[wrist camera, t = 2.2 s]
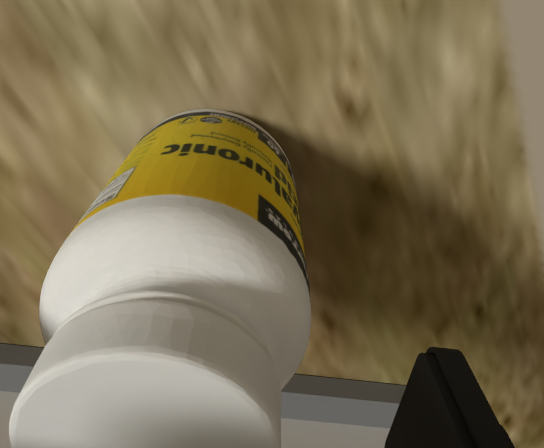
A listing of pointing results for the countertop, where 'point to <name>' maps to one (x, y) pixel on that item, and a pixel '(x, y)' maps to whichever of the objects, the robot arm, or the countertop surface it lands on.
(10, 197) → the countertop surface
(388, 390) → the lane
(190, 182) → the supplement bottle
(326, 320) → the countertop surface
